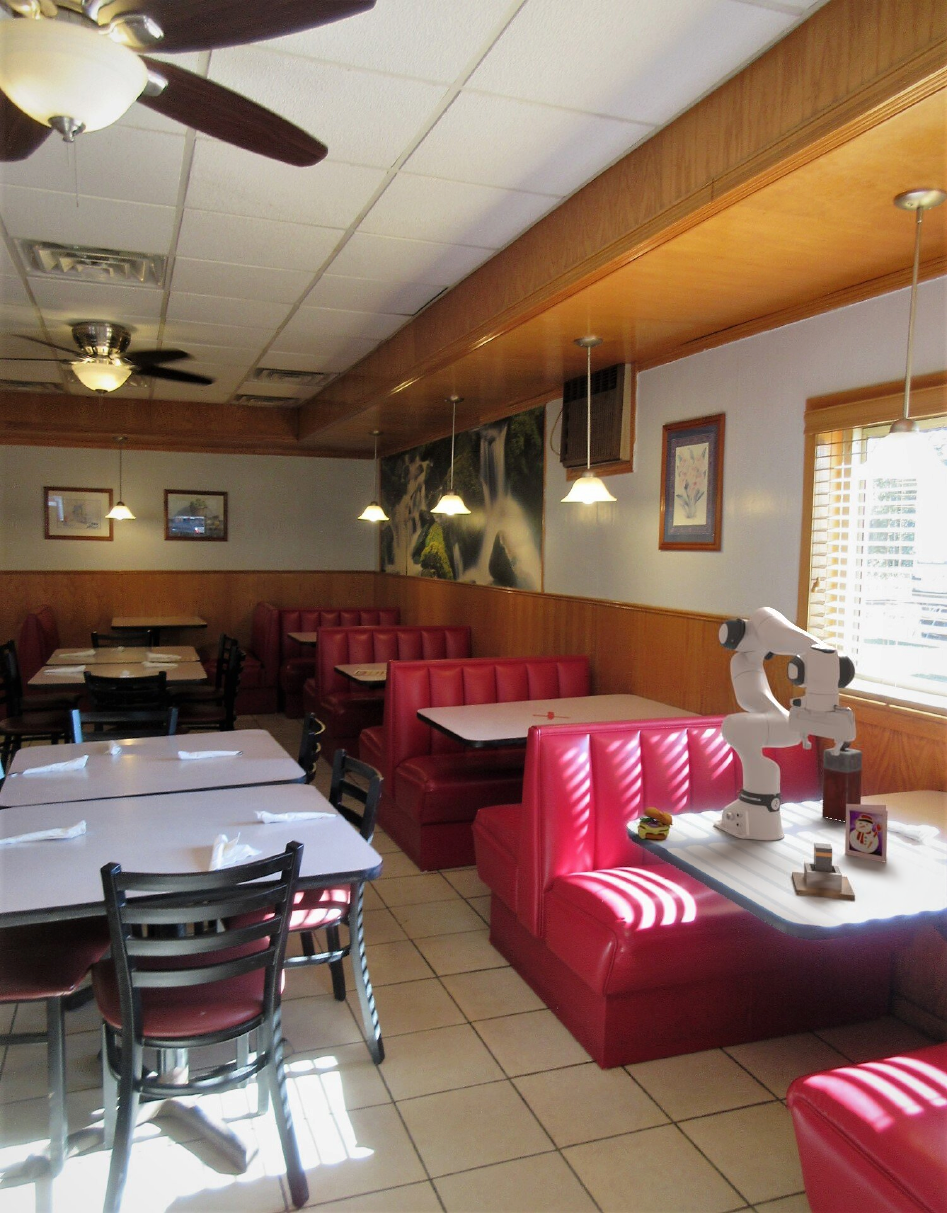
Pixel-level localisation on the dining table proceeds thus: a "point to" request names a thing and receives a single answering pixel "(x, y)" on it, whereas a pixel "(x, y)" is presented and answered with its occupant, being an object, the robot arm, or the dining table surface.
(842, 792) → the pepper mill
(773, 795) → the robot arm
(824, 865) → the block
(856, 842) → the greeting card
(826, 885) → the holder
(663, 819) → the cheeseburger
